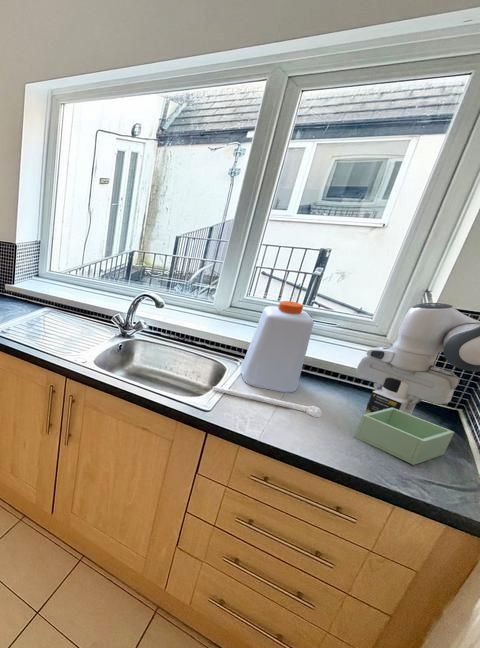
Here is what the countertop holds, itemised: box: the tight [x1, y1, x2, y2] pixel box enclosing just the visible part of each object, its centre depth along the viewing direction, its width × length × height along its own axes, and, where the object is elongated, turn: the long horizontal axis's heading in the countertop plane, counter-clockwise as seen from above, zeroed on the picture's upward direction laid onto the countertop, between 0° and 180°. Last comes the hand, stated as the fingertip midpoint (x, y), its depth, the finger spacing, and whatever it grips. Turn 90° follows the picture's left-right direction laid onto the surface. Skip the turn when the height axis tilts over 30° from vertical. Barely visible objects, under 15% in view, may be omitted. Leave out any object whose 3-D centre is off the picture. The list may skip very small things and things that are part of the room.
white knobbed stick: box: [212, 386, 322, 418], centre depth 128 cm, size 28×4×3 cm, turn 58°
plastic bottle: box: [240, 300, 315, 394], centre depth 137 cm, size 15×15×28 cm
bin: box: [354, 407, 455, 466], centre depth 108 cm, size 13×13×7 cm
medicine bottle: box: [365, 378, 417, 415], centre depth 120 cm, size 7×7×12 cm
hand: (392, 403), depth 121 cm, fingers closed on medicine bottle, 5 cm apart
